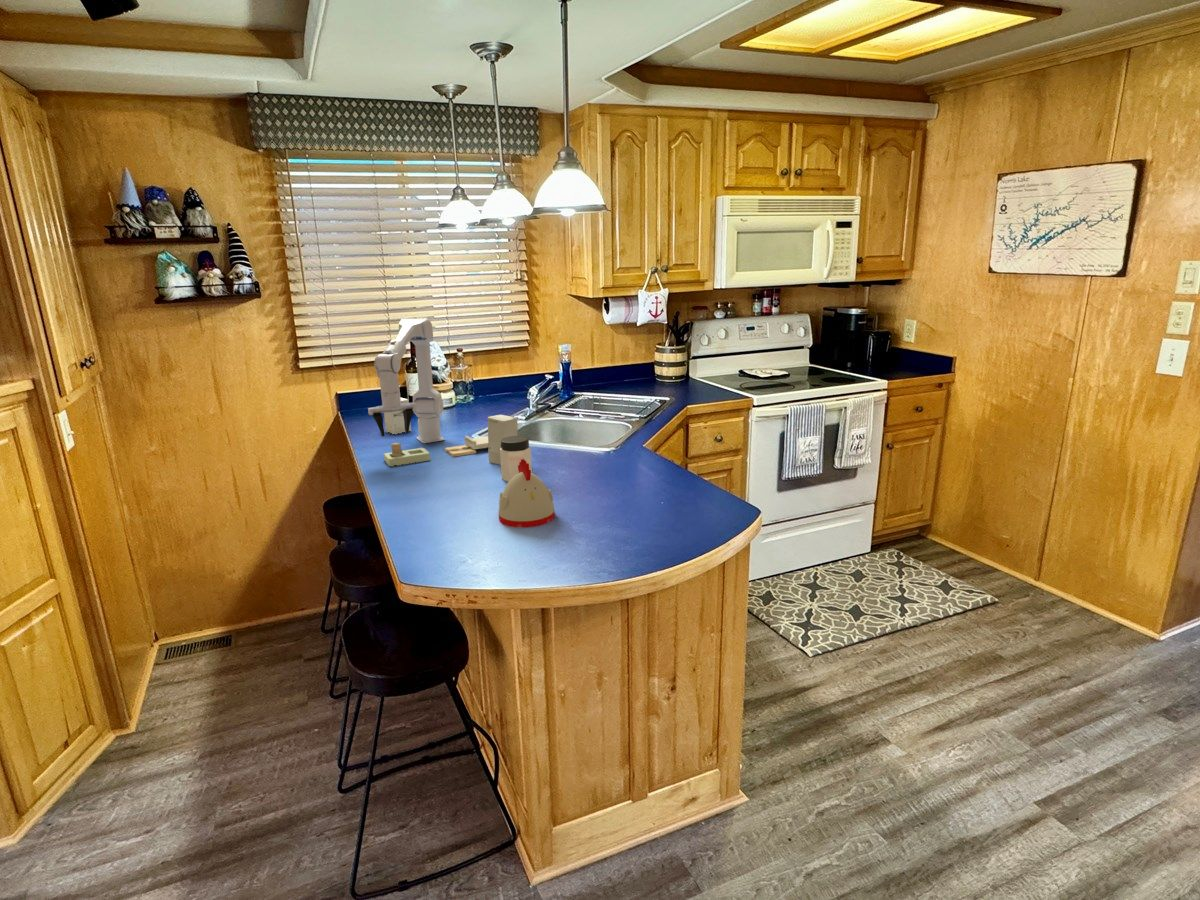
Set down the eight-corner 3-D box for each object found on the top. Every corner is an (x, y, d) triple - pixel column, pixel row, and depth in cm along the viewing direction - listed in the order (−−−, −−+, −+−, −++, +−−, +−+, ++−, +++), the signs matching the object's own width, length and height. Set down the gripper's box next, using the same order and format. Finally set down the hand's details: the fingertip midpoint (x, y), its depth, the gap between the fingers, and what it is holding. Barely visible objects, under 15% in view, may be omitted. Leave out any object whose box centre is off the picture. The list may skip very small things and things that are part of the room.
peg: (392, 461, 226) (390, 443, 225) (401, 460, 228) (399, 442, 226) (394, 463, 224) (391, 445, 222) (403, 462, 225) (401, 444, 223)
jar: (512, 472, 211) (509, 434, 208) (536, 475, 208) (534, 436, 205) (497, 481, 203) (494, 441, 200) (522, 484, 200) (519, 444, 197)
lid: (465, 443, 240) (464, 436, 239) (487, 440, 244) (486, 432, 243) (473, 449, 232) (473, 441, 232) (496, 446, 236) (495, 438, 235)
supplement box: (393, 435, 261) (390, 402, 257) (385, 431, 266) (381, 399, 263) (412, 431, 265) (408, 399, 262) (403, 428, 271) (399, 396, 267)
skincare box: (488, 462, 222) (485, 417, 218) (502, 458, 227) (499, 413, 223) (506, 466, 217) (503, 420, 213) (520, 462, 222) (517, 416, 218)
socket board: (384, 460, 227) (383, 453, 227) (423, 454, 233) (423, 447, 233) (389, 466, 221) (389, 459, 220) (430, 460, 227) (429, 453, 226)
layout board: (445, 450, 237) (444, 447, 237) (467, 447, 241) (467, 444, 241) (453, 456, 230) (452, 453, 229) (476, 453, 233) (476, 449, 233)
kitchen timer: (507, 531, 166) (503, 471, 162) (492, 513, 178) (488, 457, 174) (562, 521, 171) (560, 463, 167) (544, 504, 183) (541, 449, 179)
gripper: (369, 396, 213) (374, 439, 216) (416, 391, 219) (420, 433, 223) (364, 393, 219) (369, 435, 222) (411, 388, 225) (415, 428, 229)
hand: (395, 433), depth 223 cm, fingers open, 7 cm apart
